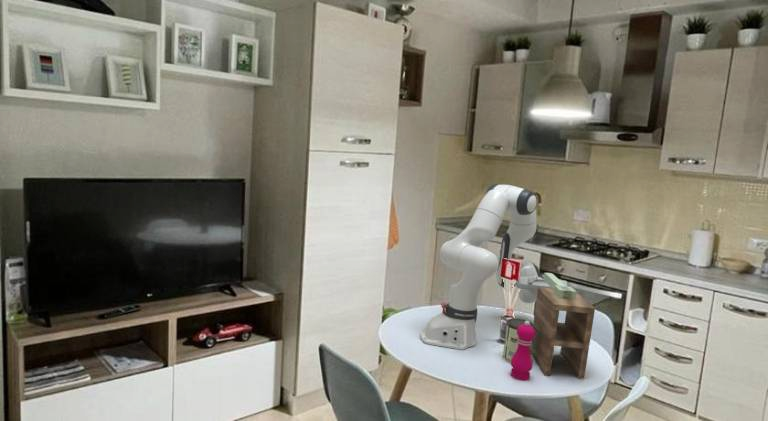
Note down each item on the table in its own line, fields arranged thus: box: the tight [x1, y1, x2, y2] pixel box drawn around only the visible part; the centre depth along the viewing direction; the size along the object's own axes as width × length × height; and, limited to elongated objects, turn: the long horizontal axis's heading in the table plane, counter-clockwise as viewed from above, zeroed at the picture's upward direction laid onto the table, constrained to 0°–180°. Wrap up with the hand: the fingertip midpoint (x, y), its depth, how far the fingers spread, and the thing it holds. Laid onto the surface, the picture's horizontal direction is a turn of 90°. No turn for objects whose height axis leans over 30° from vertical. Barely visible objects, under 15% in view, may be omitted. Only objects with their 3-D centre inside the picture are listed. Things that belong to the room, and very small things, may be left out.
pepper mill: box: [510, 320, 535, 381], centre depth 177 cm, size 7×7×20 cm
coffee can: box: [502, 318, 535, 364], centre depth 191 cm, size 10×10×14 cm
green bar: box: [543, 272, 577, 300], centre depth 196 cm, size 6×24×3 cm, turn 179°
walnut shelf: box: [531, 287, 596, 380], centre depth 188 cm, size 14×20×26 cm
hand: (547, 279), depth 207 cm, fingers open, 8 cm apart
